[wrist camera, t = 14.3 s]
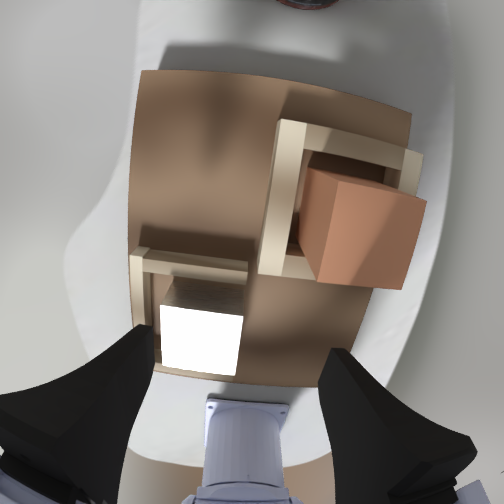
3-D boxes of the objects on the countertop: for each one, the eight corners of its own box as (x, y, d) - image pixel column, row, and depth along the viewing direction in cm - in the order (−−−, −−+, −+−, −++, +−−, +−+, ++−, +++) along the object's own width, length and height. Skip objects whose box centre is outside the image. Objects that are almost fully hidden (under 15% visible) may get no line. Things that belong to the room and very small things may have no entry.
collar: (378, 273, 18) (390, 287, 16) (256, 259, 17) (257, 273, 16) (406, 152, 15) (423, 154, 13) (277, 121, 15) (281, 118, 13)
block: (236, 345, 20) (234, 375, 17) (172, 336, 20) (162, 365, 17) (244, 289, 18) (243, 316, 15) (172, 280, 18) (160, 305, 15)
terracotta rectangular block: (372, 180, 16) (426, 201, 10) (357, 244, 17) (401, 290, 12) (307, 166, 16) (338, 180, 10) (295, 235, 17) (317, 282, 11)
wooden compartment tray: (328, 367, 24) (338, 400, 20) (146, 348, 23) (132, 380, 19) (393, 115, 17) (424, 112, 13) (154, 78, 16) (132, 64, 12)
